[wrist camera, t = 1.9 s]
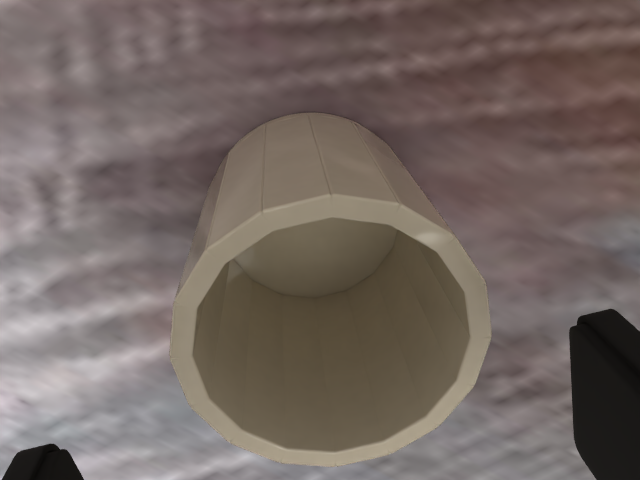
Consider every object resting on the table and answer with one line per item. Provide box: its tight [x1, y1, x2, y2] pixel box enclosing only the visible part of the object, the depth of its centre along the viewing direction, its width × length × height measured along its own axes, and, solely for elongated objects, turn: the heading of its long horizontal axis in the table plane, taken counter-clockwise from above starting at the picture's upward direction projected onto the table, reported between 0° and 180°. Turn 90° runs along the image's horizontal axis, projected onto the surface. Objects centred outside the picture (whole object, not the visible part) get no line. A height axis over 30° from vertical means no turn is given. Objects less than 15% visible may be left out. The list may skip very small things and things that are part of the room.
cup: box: [169, 113, 492, 467], centre depth 16 cm, size 7×7×8 cm
